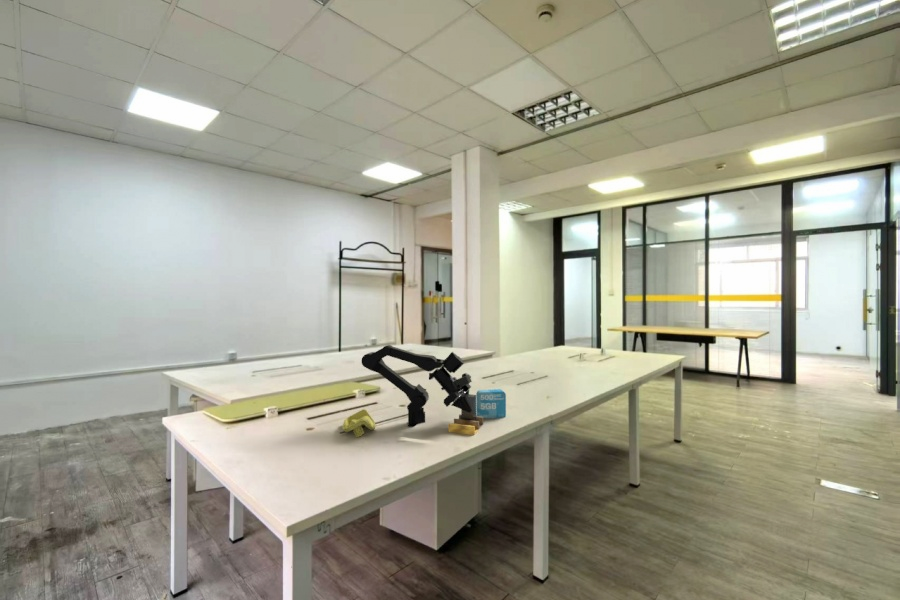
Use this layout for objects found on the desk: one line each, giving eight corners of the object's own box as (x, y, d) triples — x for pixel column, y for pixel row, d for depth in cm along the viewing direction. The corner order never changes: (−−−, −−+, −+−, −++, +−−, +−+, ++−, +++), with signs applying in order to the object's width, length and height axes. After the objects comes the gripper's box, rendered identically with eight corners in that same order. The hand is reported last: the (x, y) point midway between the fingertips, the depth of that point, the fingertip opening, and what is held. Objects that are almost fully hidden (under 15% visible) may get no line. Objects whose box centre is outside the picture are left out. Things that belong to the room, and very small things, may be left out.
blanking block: (461, 426, 149) (461, 395, 149) (464, 423, 152) (464, 393, 153) (473, 427, 147) (473, 397, 148) (476, 425, 151) (476, 394, 151)
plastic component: (344, 418, 155) (367, 406, 157) (352, 435, 155) (375, 422, 157) (340, 431, 135) (366, 417, 138) (350, 449, 136) (375, 435, 138)
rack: (448, 434, 143) (448, 423, 143) (459, 424, 155) (459, 414, 155) (474, 437, 139) (473, 426, 139) (483, 426, 151) (483, 416, 152)
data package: (478, 420, 160) (478, 392, 160) (476, 417, 164) (476, 389, 164) (506, 419, 161) (505, 391, 161) (503, 416, 166) (503, 389, 166)
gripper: (451, 371, 143) (479, 403, 139) (466, 364, 160) (491, 392, 156) (432, 390, 145) (459, 422, 141) (449, 381, 163) (473, 409, 159)
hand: (472, 410), depth 150 cm, fingers open, 4 cm apart
